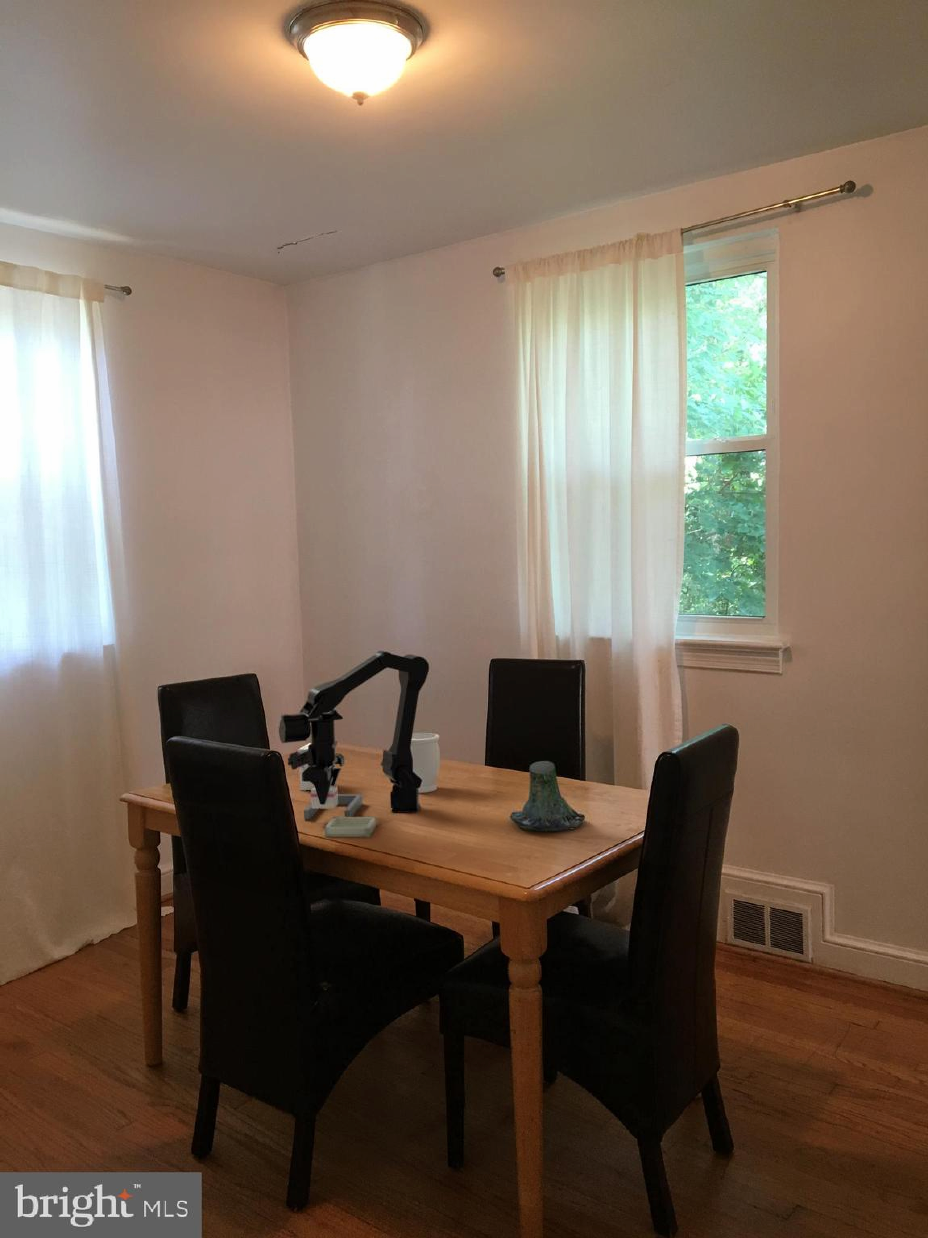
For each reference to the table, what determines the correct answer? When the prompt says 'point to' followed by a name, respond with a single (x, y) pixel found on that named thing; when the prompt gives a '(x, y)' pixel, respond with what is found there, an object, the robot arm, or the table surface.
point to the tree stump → (546, 803)
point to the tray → (350, 827)
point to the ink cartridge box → (303, 784)
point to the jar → (426, 759)
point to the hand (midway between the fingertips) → (325, 801)
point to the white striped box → (330, 801)
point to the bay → (343, 799)
